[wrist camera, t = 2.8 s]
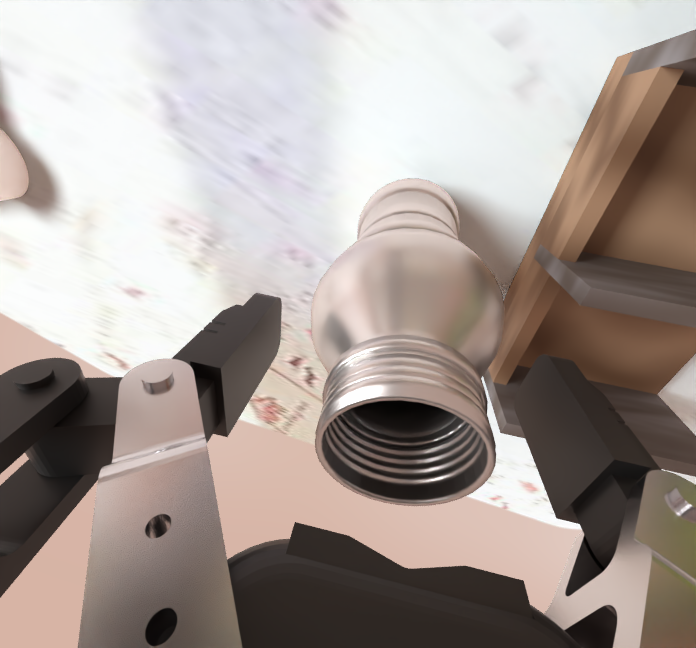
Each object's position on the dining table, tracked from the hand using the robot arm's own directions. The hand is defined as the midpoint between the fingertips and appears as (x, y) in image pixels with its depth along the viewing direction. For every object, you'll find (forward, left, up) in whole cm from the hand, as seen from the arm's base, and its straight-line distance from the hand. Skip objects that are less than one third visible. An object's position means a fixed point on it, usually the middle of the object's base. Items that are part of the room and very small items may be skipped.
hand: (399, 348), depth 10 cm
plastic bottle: (0, 0, -16) cm, 16 cm away
